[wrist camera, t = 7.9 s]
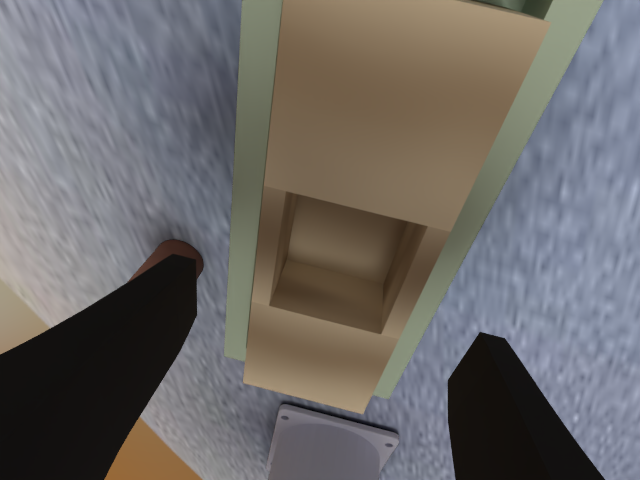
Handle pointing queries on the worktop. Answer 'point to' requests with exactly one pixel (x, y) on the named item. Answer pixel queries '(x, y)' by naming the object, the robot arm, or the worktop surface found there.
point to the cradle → (531, 100)
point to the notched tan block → (370, 176)
